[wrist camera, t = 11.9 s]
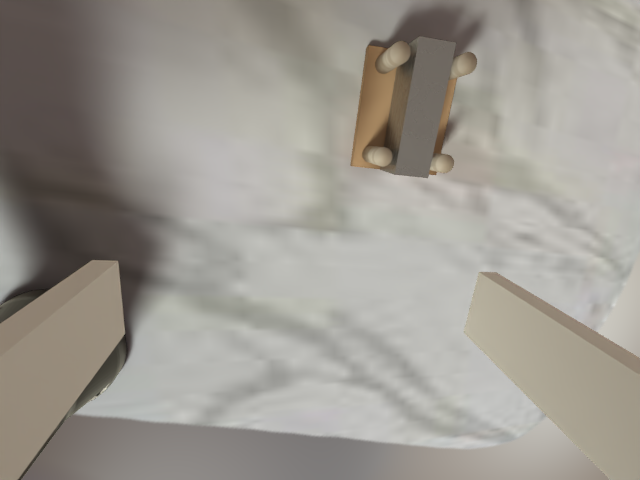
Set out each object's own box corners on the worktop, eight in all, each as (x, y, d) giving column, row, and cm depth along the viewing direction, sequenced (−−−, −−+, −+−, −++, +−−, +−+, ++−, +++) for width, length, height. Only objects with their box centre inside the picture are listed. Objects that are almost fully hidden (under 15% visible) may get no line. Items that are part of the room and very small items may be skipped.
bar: (409, 172, 37) (428, 177, 32) (379, 169, 36) (394, 174, 32) (431, 55, 33) (456, 42, 29) (399, 50, 33) (419, 36, 28)
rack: (350, 165, 37) (363, 170, 31) (366, 47, 33) (384, 29, 28) (432, 174, 38) (458, 180, 33) (455, 62, 35) (489, 47, 29)
